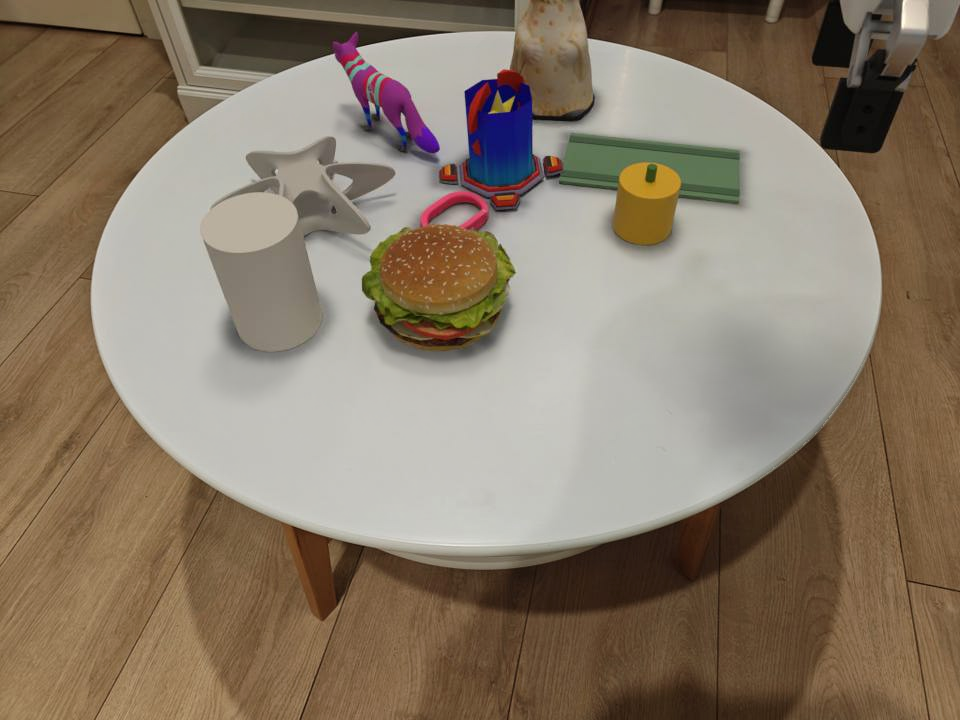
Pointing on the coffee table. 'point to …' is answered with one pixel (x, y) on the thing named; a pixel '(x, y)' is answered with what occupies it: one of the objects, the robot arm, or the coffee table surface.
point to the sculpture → (316, 185)
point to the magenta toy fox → (383, 97)
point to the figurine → (554, 59)
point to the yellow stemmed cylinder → (646, 203)
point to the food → (438, 285)
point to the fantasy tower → (500, 142)
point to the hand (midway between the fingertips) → (841, 104)
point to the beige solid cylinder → (263, 270)
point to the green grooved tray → (696, 166)
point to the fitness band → (455, 198)
